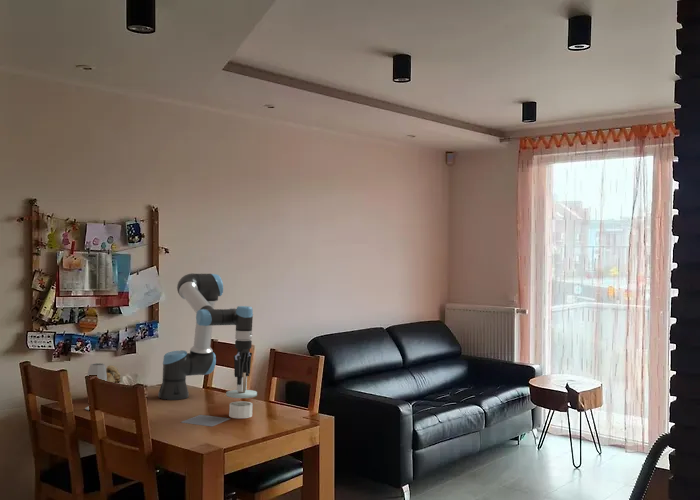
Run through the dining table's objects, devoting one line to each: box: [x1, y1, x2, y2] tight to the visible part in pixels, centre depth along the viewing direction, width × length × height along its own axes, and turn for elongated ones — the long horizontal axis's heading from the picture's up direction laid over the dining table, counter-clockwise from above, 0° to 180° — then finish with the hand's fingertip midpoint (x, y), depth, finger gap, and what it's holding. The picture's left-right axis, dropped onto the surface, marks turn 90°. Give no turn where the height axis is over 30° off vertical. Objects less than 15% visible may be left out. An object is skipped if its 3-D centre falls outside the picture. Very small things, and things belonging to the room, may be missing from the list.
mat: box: [180, 414, 231, 427], centre depth 291 cm, size 16×16×1 cm
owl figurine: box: [106, 364, 121, 384], centre depth 329 cm, size 18×12×17 cm, turn 21°
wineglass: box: [84, 362, 107, 411], centre depth 307 cm, size 9×9×21 cm
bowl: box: [228, 401, 253, 419], centre depth 303 cm, size 10×10×6 cm
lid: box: [225, 372, 258, 399], centre depth 303 cm, size 14×14×10 cm
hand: (241, 390), depth 303 cm, fingers closed on lid, 3 cm apart
